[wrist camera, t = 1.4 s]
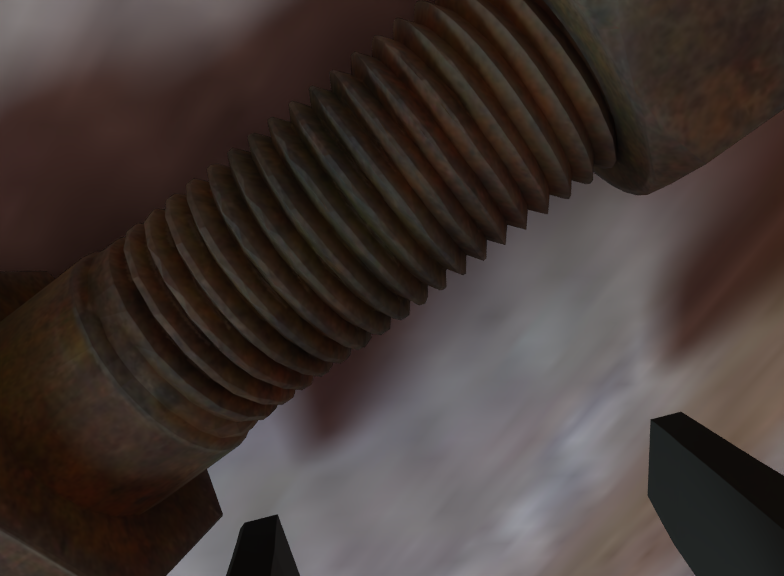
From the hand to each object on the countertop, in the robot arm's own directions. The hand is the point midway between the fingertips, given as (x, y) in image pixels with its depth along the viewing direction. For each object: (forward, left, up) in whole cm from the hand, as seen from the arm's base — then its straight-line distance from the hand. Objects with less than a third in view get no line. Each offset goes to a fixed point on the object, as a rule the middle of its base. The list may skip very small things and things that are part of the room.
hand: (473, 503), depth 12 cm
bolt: (+7, 0, -2) cm, 7 cm away
